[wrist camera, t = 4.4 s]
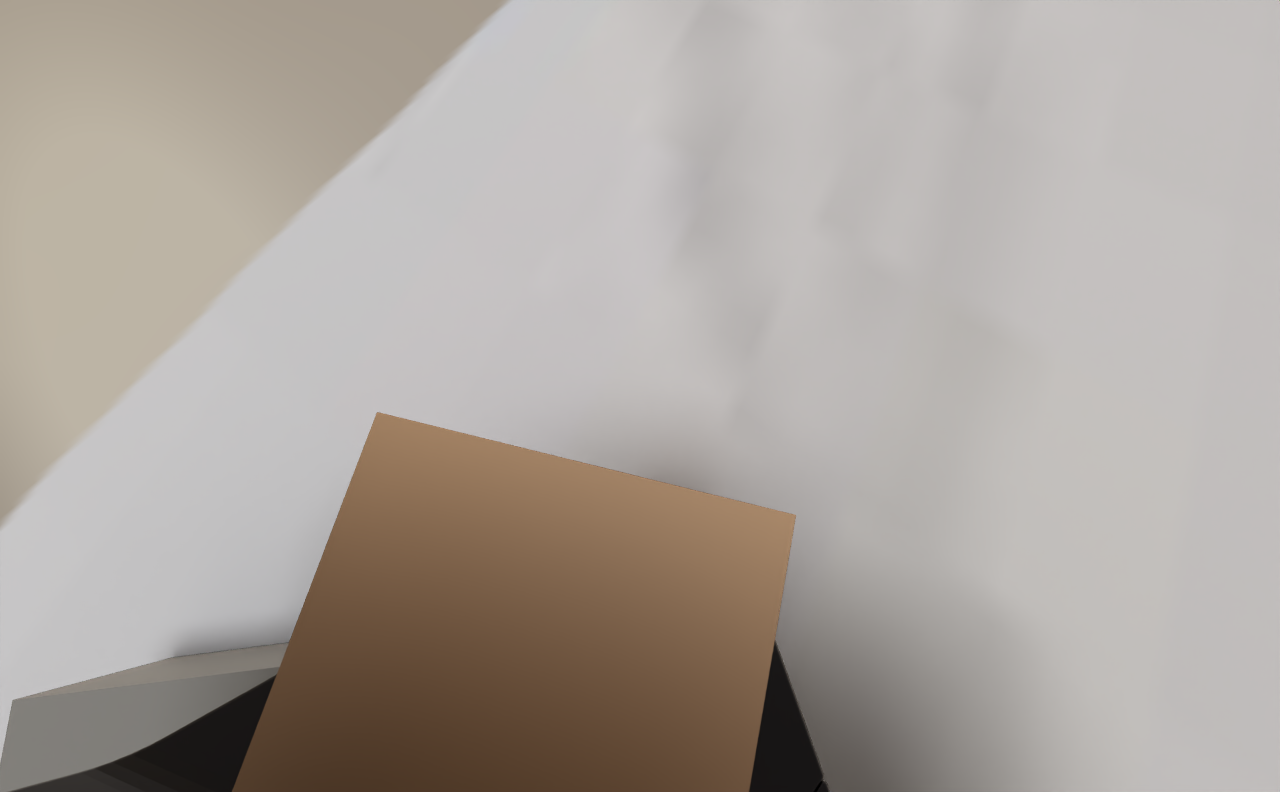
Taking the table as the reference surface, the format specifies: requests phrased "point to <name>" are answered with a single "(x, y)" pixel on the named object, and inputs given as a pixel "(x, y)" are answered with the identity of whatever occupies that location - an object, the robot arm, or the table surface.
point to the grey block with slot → (123, 711)
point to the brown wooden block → (524, 630)
